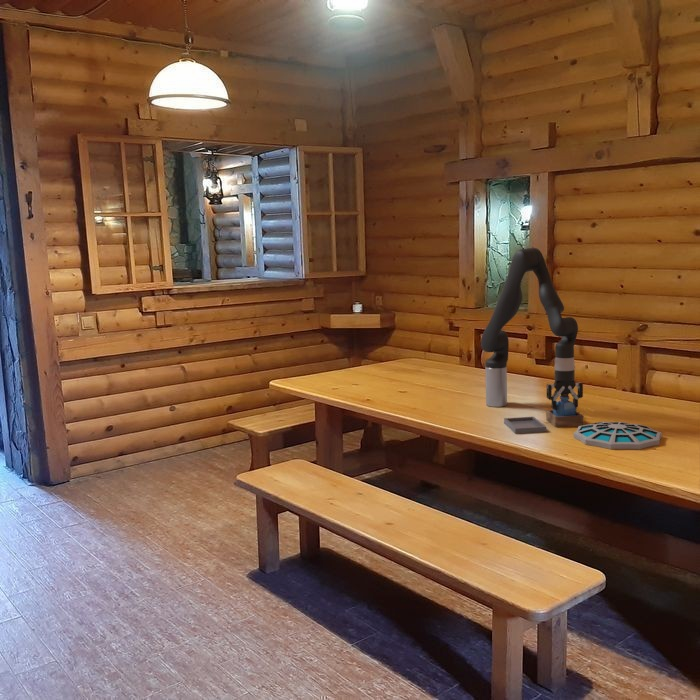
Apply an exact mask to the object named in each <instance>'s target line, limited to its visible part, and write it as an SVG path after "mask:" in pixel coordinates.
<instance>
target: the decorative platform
mask: <svg viewBox="0 0 700 700" xmlns="http://www.w3.org/2000/svg"><path fill="white" fill-rule="evenodd" d="M662 435H663V433H662V432H661V431H658V430H655V429H654V428H651V427H649V426H647V425H644V424H638V423H630V422H629V423H628V422H624V421H614V422H613V421H597V422H594V423H590V424H584V425H583V426H577V429H576V430H575V431H574V432H573V438H574V439H576V440H578V441H579V442H581V441H582V443H583V444H584V445H585V444H586V445H587V446H592V447H598V448H603V449H608V450H643V449H647V448H650V447H651V448H652V447H655V446H659V445H660V440H661V439H662Z"/></svg>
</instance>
